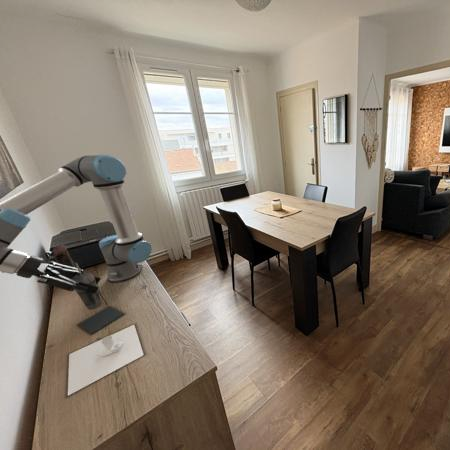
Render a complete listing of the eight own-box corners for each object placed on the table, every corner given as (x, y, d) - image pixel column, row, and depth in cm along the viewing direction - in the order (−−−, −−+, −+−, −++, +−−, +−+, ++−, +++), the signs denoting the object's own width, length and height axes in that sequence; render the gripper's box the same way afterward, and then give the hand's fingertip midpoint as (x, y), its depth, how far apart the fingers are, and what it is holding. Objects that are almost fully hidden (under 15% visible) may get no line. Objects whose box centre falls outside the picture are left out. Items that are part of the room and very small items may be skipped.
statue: (82, 272, 139) (68, 241, 132) (79, 278, 134) (64, 246, 126) (67, 276, 136) (52, 245, 129) (63, 282, 131) (47, 250, 123)
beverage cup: (81, 314, 94) (60, 271, 87) (85, 304, 100) (65, 263, 93) (104, 307, 98) (86, 265, 90) (106, 298, 103) (89, 257, 96)
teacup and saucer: (126, 348, 86) (122, 340, 85) (98, 362, 82) (93, 353, 80) (122, 335, 93) (119, 326, 91) (96, 347, 88) (92, 338, 86)
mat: (109, 306, 109) (109, 306, 109) (124, 314, 104) (124, 313, 104) (77, 324, 99) (77, 324, 99) (91, 334, 94) (91, 333, 94)
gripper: (25, 262, 91) (94, 282, 105) (3, 287, 75) (89, 307, 89) (38, 245, 91) (105, 267, 106) (19, 267, 76) (101, 289, 90)
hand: (97, 285), depth 97 cm, fingers closed on beverage cup, 7 cm apart
